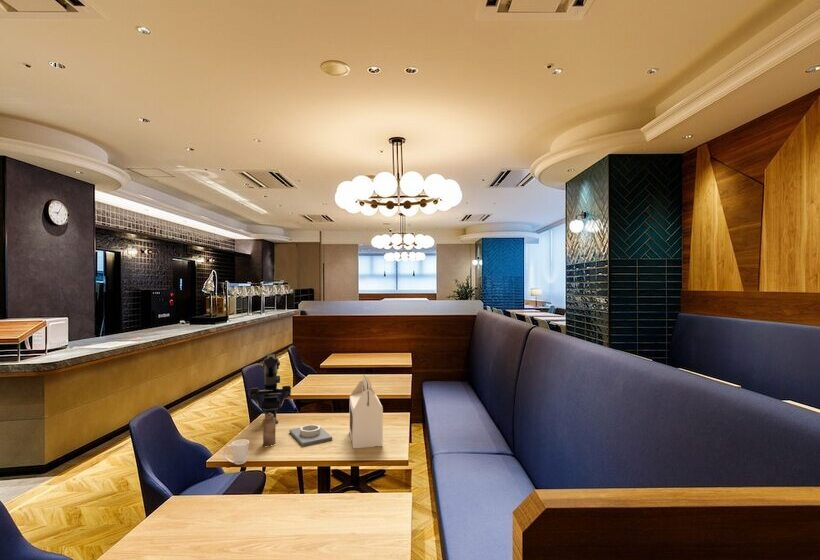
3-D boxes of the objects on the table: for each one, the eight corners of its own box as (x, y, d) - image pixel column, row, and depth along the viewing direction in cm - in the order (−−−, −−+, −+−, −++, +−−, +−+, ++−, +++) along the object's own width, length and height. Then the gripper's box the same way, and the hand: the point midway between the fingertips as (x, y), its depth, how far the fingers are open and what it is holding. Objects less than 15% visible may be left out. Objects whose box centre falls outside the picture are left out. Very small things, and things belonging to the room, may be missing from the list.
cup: (246, 465, 166) (246, 445, 166) (220, 466, 165) (220, 446, 165) (251, 458, 173) (251, 438, 173) (226, 459, 172) (226, 439, 172)
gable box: (382, 446, 186) (383, 383, 186) (353, 448, 183) (353, 385, 184) (376, 429, 208) (376, 373, 208) (349, 431, 205) (349, 374, 205)
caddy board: (289, 432, 203) (289, 424, 203) (317, 427, 210) (317, 419, 210) (302, 446, 186) (302, 437, 186) (332, 440, 193) (332, 431, 193)
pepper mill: (261, 443, 189) (262, 412, 189) (273, 441, 191) (273, 410, 191) (264, 447, 184) (264, 415, 184) (276, 445, 187) (276, 413, 187)
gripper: (250, 371, 198) (248, 400, 187) (290, 368, 204) (291, 396, 193) (250, 384, 206) (249, 413, 195) (290, 382, 211) (290, 409, 200)
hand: (270, 407), depth 196 cm, fingers open, 9 cm apart
